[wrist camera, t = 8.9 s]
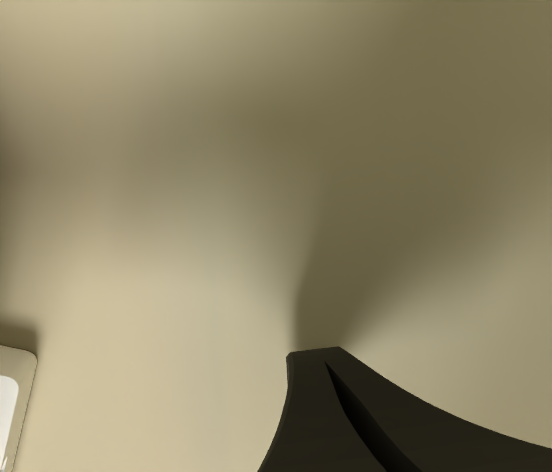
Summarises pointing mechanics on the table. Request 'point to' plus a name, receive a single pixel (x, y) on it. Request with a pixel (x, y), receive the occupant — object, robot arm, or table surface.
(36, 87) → the table surface
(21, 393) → the security camera
